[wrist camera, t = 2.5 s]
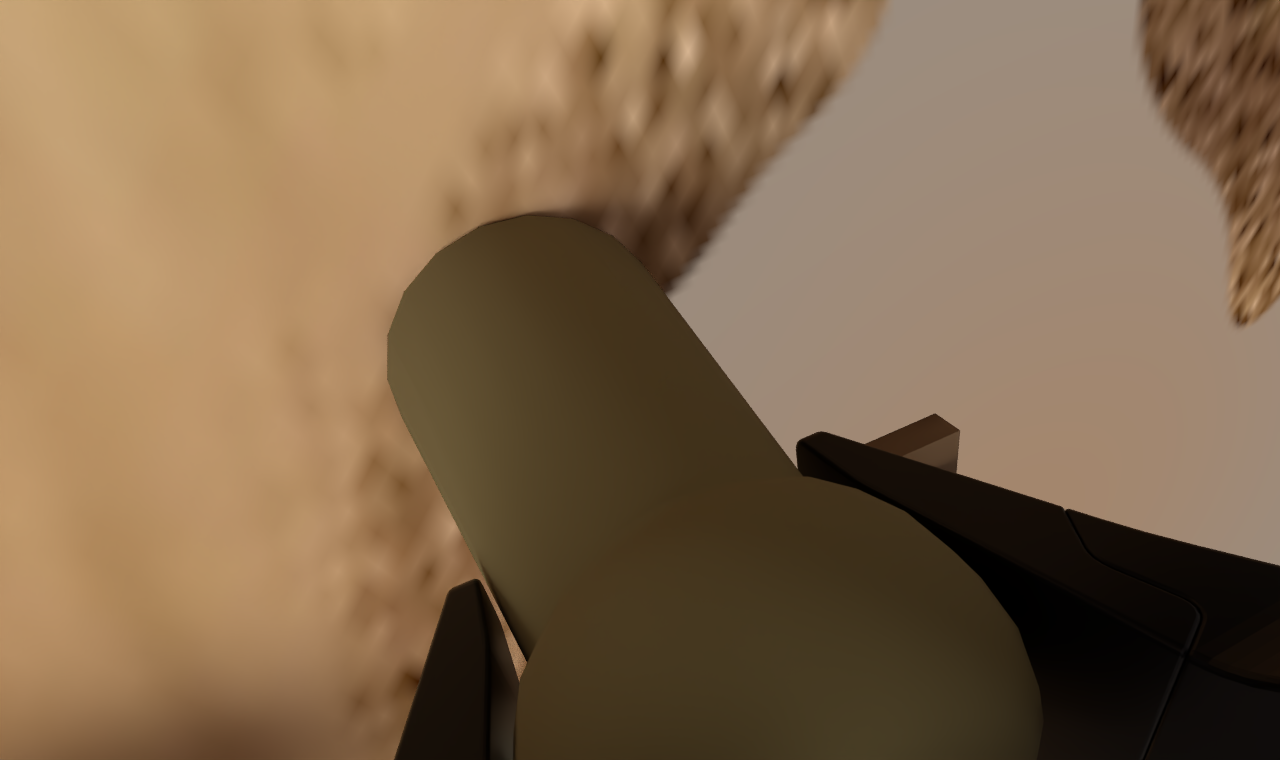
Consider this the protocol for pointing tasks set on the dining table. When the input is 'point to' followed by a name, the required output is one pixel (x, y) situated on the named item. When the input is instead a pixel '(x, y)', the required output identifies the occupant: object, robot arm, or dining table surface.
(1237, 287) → the dining table surface
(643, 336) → the olive bulb-ended cylinder
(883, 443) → the brown picture frame
